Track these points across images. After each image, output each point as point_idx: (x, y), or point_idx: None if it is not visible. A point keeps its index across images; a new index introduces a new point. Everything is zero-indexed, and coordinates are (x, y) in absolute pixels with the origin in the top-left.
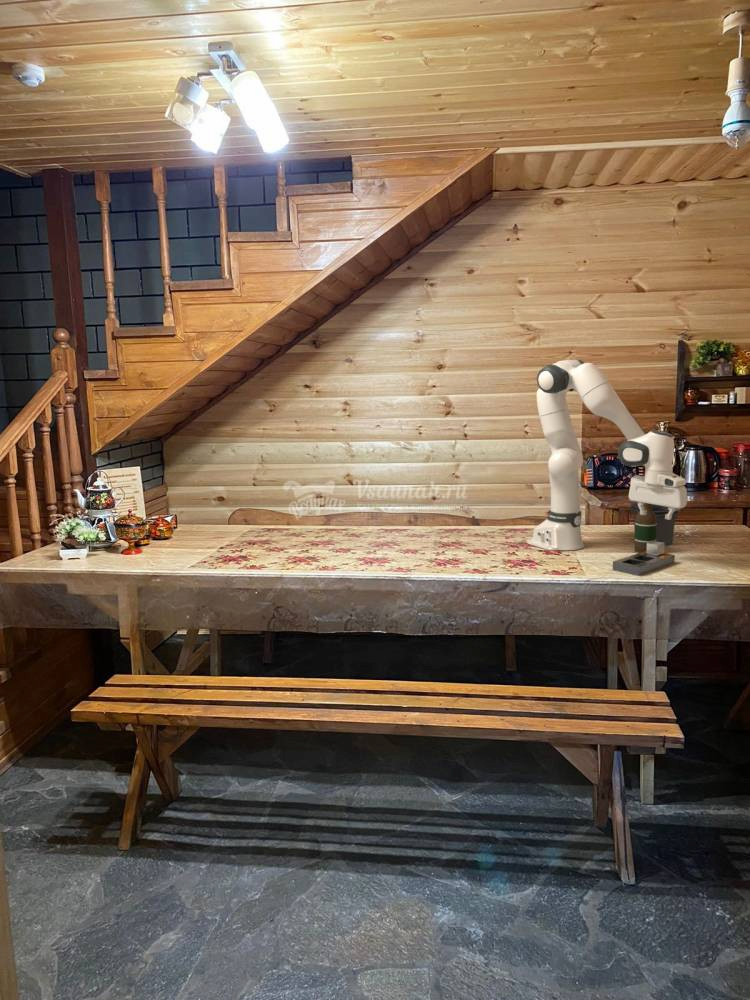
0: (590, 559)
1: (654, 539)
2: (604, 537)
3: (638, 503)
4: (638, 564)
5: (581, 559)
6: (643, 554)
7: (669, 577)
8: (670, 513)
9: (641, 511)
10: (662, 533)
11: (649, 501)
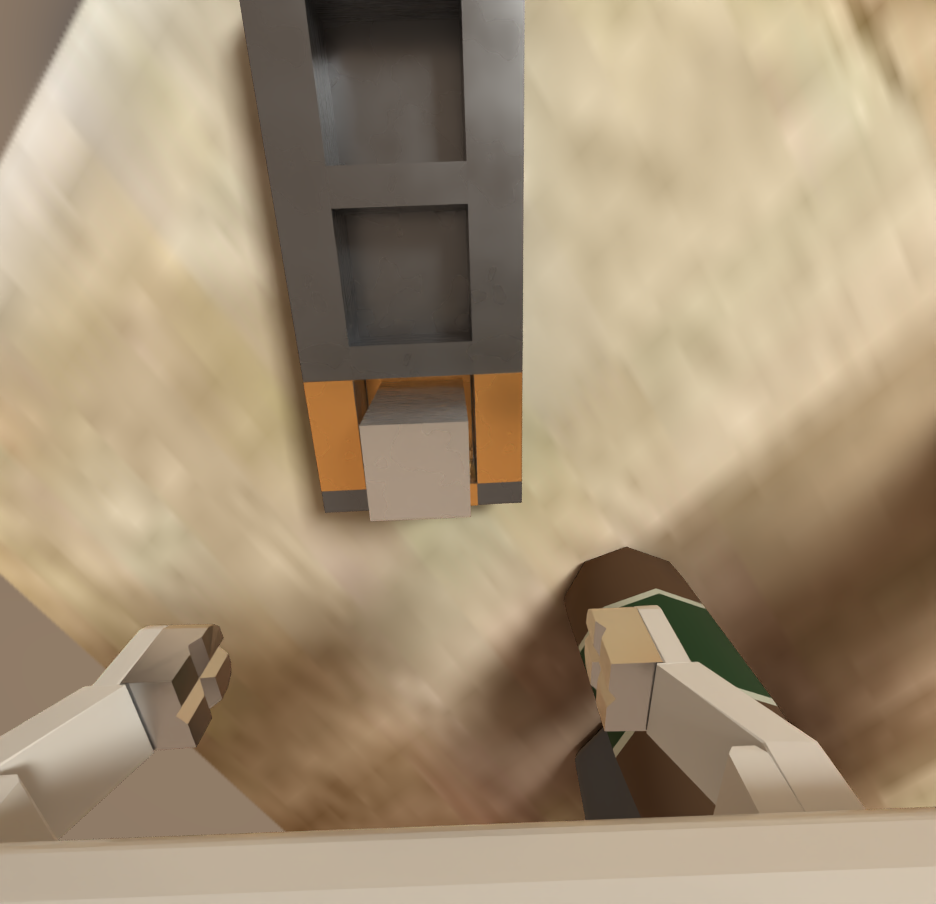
0: (816, 188)
1: (583, 657)
2: (930, 673)
3: (822, 776)
4: (300, 35)
5: (875, 131)
6: (476, 373)
7: (141, 190)
8: (44, 717)
9: (655, 641)
10: (626, 787)
11: (488, 892)
